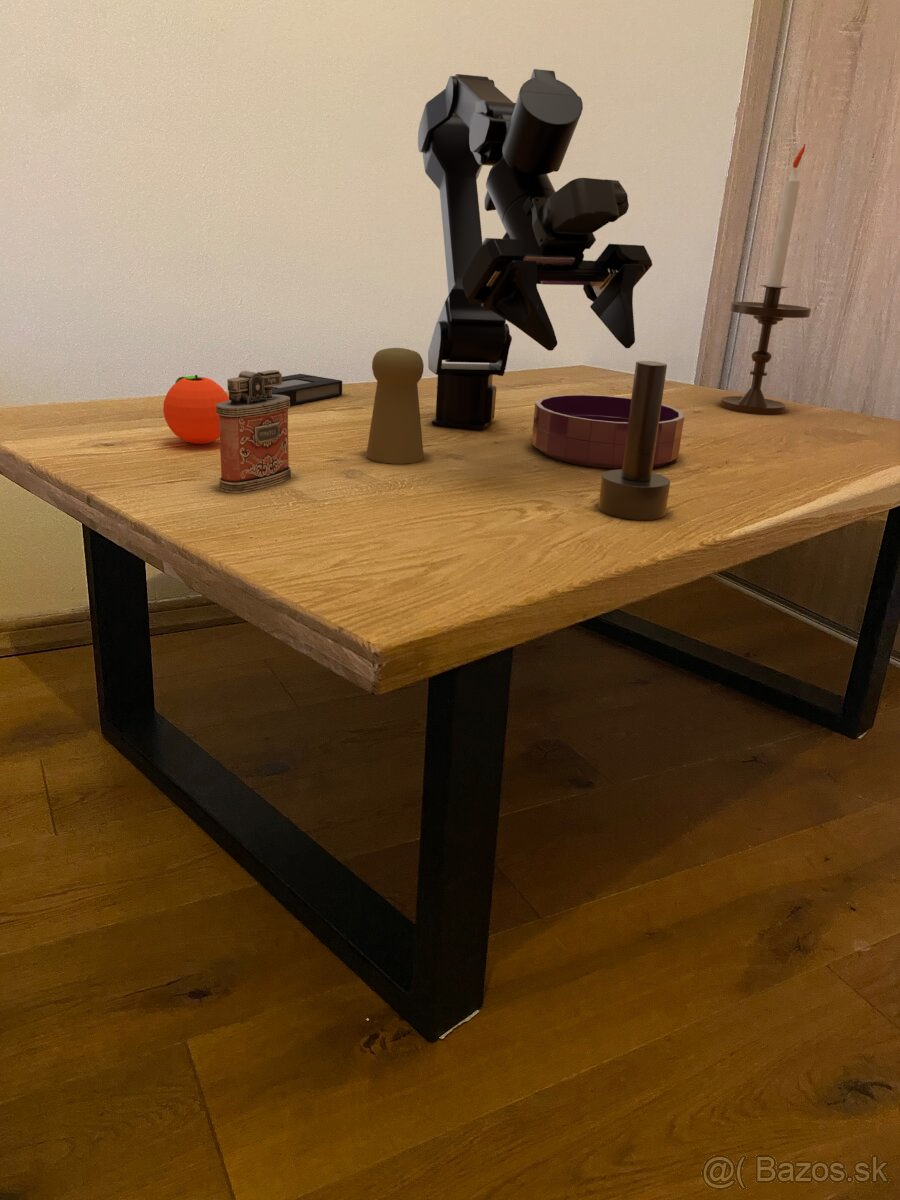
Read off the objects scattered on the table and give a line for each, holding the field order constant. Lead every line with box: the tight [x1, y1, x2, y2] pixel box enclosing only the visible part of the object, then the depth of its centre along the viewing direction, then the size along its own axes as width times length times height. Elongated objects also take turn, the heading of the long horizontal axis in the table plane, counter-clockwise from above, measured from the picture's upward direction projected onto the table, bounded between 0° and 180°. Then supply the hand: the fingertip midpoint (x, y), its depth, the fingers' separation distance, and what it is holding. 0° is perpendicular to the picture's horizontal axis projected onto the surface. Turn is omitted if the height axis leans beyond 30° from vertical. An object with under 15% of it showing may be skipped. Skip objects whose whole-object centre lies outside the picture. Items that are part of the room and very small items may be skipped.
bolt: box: [597, 360, 671, 521], centre depth 81 cm, size 6×6×13 cm
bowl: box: [531, 393, 685, 470], centre depth 103 cm, size 16×16×5 cm
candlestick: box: [720, 143, 812, 415], centre depth 129 cm, size 11×11×35 cm
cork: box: [366, 347, 425, 465], centre depth 95 cm, size 6×6×11 cm
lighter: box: [216, 369, 292, 494], centre depth 83 cm, size 8×3×10 cm, turn 148°
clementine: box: [162, 374, 229, 445], centre depth 97 cm, size 8×7×7 cm
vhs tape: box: [228, 373, 343, 406], centre depth 123 cm, size 8×14×2 cm, turn 149°
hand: (593, 346), depth 84 cm, fingers open, 9 cm apart
